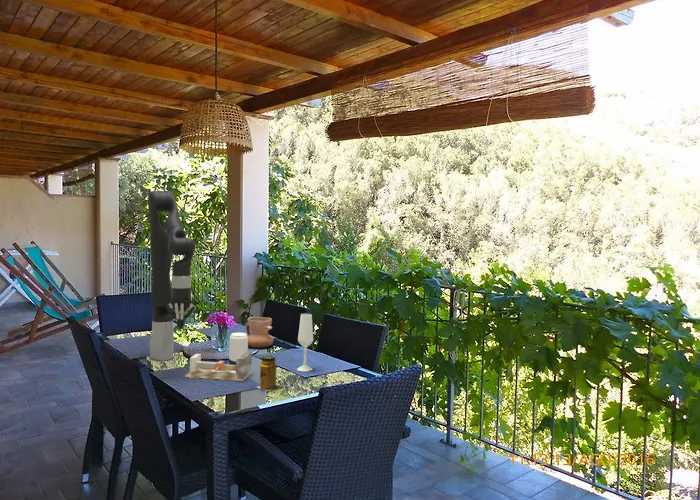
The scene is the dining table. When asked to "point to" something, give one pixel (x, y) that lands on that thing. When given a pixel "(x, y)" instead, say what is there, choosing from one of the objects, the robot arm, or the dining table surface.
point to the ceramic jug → (259, 332)
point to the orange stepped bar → (219, 366)
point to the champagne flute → (305, 337)
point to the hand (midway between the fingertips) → (180, 328)
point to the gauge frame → (227, 370)
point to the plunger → (200, 363)
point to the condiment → (268, 374)
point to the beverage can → (237, 345)
